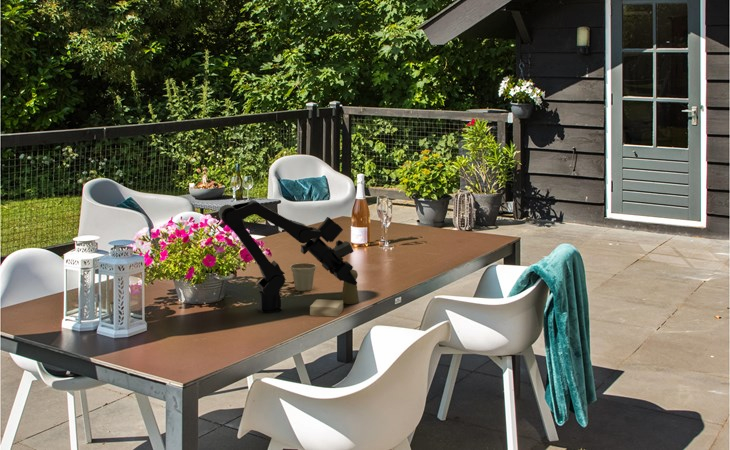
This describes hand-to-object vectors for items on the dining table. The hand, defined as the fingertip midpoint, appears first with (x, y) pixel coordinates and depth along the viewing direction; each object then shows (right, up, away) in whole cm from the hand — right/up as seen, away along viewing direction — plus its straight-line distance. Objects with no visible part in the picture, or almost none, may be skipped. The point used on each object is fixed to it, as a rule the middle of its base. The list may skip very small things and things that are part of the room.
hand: (353, 282), depth 323 cm
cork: (-1, -7, +1) cm, 7 cm away
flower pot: (-18, -4, +19) cm, 27 cm away
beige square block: (-9, -9, -11) cm, 17 cm away
